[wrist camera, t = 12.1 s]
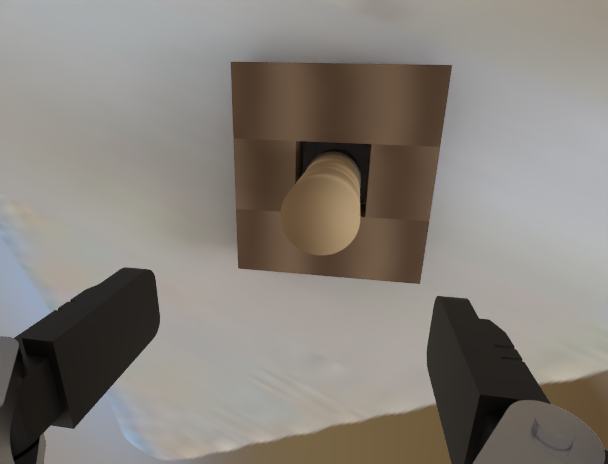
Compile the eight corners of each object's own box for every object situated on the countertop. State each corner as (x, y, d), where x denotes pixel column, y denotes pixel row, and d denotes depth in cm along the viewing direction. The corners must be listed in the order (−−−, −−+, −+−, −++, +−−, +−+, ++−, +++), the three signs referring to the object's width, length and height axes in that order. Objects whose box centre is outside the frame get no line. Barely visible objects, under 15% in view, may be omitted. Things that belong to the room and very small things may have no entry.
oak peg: (362, 146, 30) (366, 178, 17) (358, 195, 32) (359, 260, 19) (312, 144, 31) (278, 174, 18) (310, 193, 32) (278, 253, 19)
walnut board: (439, 70, 28) (451, 65, 24) (412, 263, 33) (419, 283, 29) (246, 67, 30) (230, 61, 26) (251, 250, 35) (238, 268, 31)
